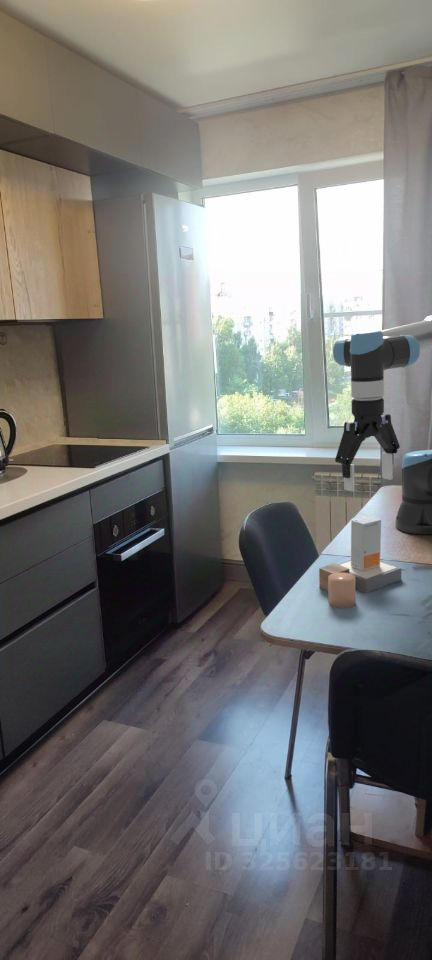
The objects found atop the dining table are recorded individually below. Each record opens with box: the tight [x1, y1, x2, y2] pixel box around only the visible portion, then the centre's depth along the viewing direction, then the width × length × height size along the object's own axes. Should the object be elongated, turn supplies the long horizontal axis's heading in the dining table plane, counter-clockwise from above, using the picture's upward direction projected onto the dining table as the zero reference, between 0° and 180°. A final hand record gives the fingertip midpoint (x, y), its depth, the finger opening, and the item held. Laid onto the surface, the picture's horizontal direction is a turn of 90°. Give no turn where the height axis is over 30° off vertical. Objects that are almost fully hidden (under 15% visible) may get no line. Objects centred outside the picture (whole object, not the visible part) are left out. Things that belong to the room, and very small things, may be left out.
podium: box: [337, 559, 402, 594], centre depth 164 cm, size 12×12×3 cm
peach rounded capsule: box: [327, 573, 356, 609], centre depth 152 cm, size 6×6×6 cm
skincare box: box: [350, 515, 382, 571], centre depth 163 cm, size 6×4×12 cm
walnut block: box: [318, 563, 350, 592], centre depth 160 cm, size 5×5×5 cm
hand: (368, 484), depth 164 cm, fingers open, 13 cm apart
